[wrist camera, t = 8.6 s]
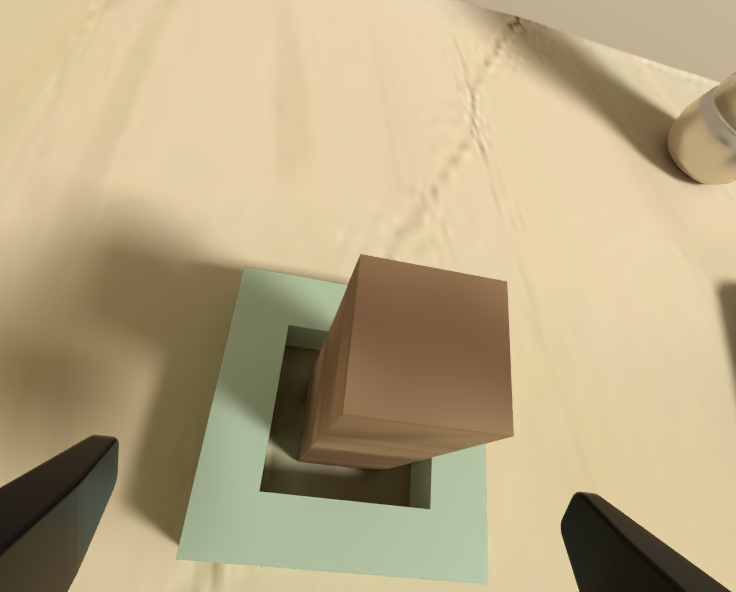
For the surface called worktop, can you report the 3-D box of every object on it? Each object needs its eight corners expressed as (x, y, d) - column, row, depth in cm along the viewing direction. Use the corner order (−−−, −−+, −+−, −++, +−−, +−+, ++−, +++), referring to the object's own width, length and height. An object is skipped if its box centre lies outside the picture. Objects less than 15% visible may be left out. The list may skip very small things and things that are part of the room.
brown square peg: (380, 470, 22) (513, 435, 11) (297, 461, 22) (343, 413, 10) (386, 388, 24) (507, 281, 12) (309, 377, 23) (360, 254, 12)
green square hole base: (458, 574, 21) (487, 584, 19) (187, 551, 19) (175, 559, 17) (460, 329, 26) (483, 309, 24) (245, 292, 24) (244, 266, 22)
